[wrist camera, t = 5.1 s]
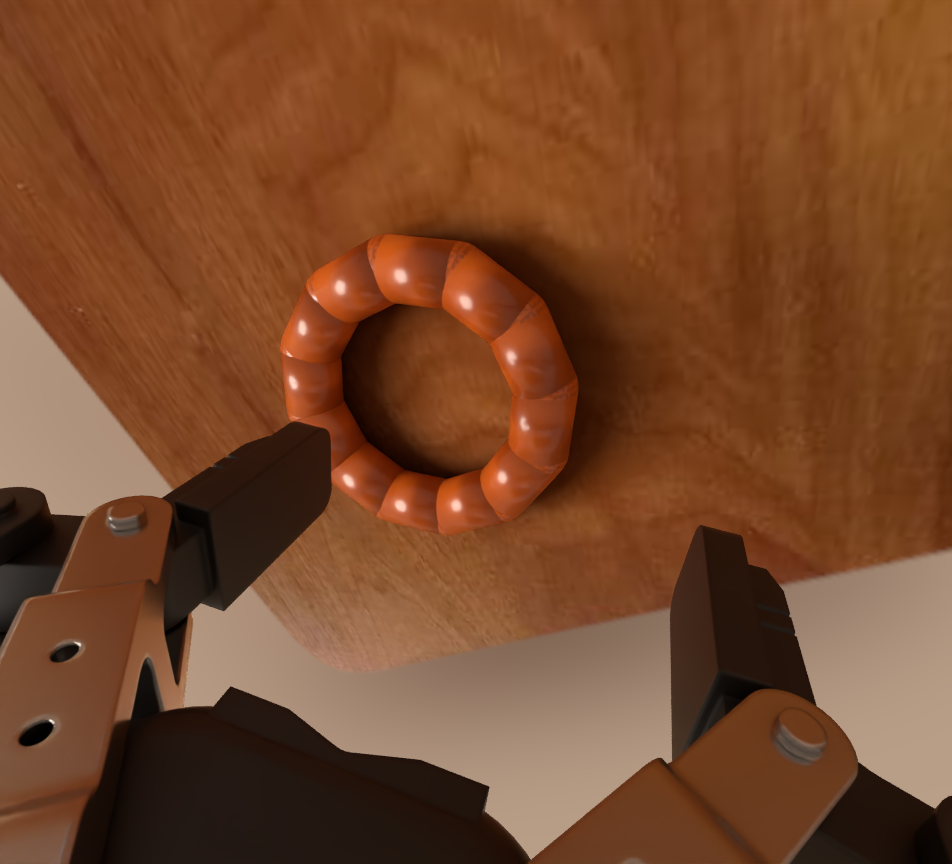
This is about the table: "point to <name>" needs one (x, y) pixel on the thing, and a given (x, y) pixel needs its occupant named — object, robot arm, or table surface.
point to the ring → (485, 313)
